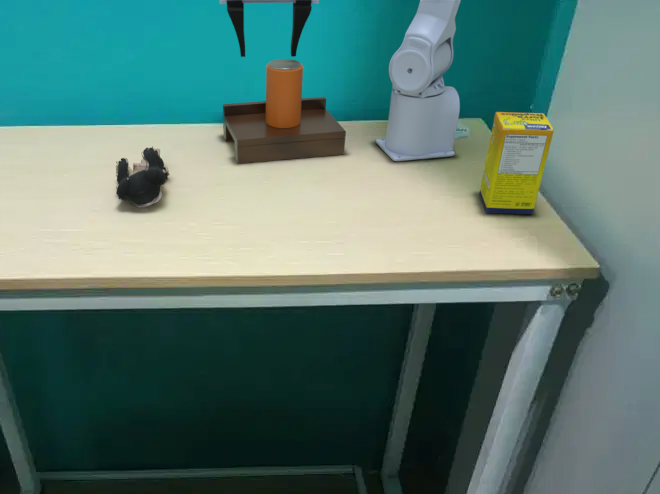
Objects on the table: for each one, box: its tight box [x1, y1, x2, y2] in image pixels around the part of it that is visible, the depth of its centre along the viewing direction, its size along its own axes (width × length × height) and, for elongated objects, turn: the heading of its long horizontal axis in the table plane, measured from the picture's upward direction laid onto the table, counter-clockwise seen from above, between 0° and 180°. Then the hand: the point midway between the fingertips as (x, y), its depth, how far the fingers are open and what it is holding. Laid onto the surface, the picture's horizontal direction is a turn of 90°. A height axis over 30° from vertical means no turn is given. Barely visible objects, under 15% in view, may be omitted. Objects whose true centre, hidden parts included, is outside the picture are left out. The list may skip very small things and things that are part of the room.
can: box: [265, 58, 304, 128], centre depth 106 cm, size 5×5×8 cm
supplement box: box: [478, 111, 555, 215], centre depth 91 cm, size 6×6×11 cm
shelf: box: [222, 96, 347, 164], centre depth 109 cm, size 16×11×5 cm
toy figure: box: [115, 146, 170, 209], centre depth 97 cm, size 7×6×15 cm
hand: (268, 54), depth 112 cm, fingers open, 7 cm apart
